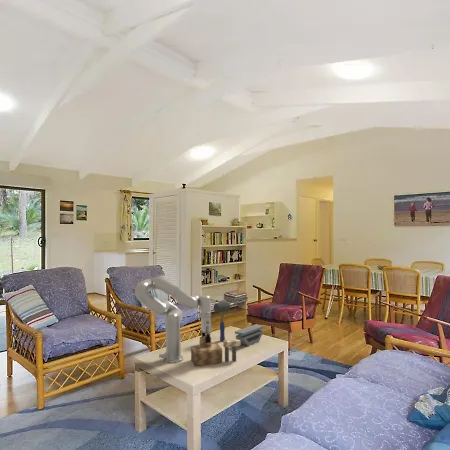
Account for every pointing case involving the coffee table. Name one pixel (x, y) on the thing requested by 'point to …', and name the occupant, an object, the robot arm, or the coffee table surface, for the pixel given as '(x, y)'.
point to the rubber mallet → (222, 316)
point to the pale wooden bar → (231, 343)
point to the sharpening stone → (249, 334)
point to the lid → (205, 347)
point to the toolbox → (212, 357)
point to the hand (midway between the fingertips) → (206, 340)
